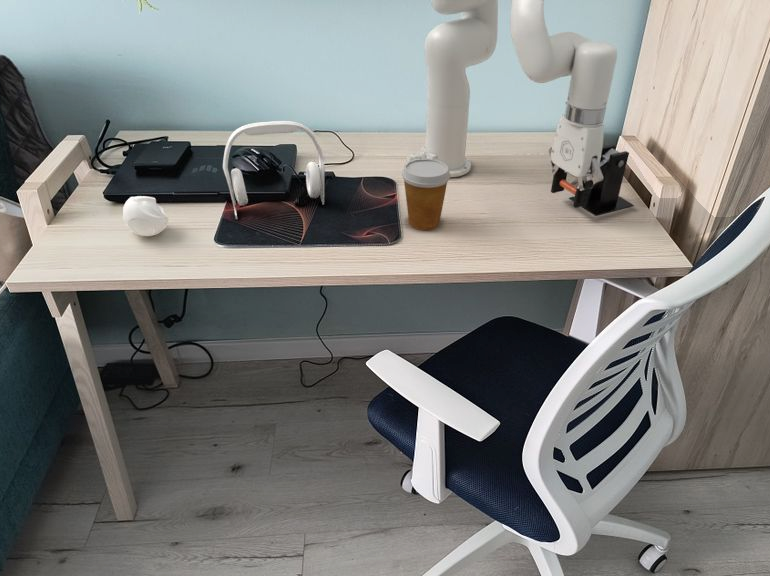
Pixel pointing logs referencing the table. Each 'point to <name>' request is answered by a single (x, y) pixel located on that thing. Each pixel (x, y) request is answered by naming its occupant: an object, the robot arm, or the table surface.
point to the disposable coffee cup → (425, 191)
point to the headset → (312, 171)
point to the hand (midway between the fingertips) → (568, 198)
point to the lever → (573, 186)
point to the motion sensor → (144, 216)
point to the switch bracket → (608, 185)
